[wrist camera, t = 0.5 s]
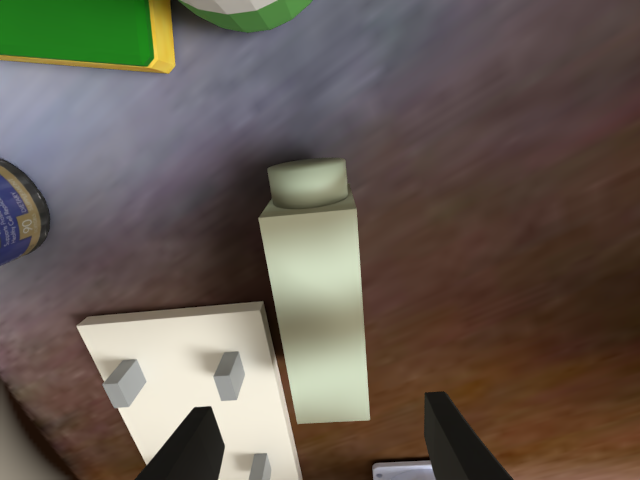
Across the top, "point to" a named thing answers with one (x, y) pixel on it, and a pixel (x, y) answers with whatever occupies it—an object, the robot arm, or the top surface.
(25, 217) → the pill bottle
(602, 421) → the top surface
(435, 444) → the robot arm
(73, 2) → the dish sponge
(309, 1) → the wine bottle
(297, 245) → the tall single-stud brick
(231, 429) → the cradle jig
